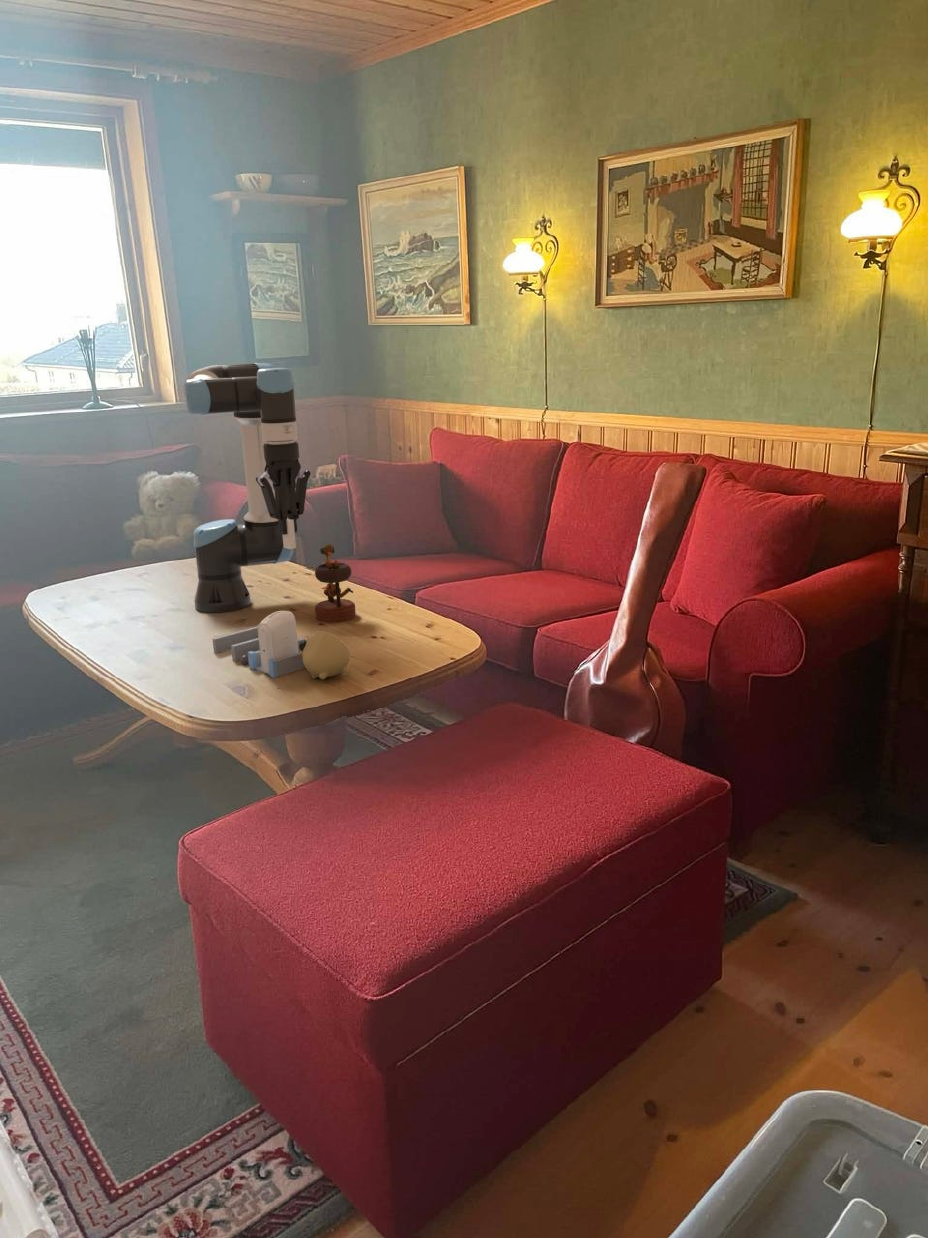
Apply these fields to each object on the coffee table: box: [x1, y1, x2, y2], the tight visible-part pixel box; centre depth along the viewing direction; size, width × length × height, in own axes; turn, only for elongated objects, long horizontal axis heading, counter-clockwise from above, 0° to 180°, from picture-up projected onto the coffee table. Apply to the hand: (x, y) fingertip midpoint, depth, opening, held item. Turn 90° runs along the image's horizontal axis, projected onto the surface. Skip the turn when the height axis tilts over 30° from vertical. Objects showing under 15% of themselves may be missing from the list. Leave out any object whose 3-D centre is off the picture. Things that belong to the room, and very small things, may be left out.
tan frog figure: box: [299, 630, 351, 680], centre depth 200 cm, size 10×12×11 cm
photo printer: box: [257, 610, 299, 674], centre depth 207 cm, size 10×4×12 cm, turn 155°
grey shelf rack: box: [212, 625, 307, 679], centre depth 216 cm, size 26×16×4 cm, turn 45°
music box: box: [314, 543, 357, 624], centre depth 242 cm, size 15×11×20 cm
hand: (289, 547), depth 209 cm, fingers closed
